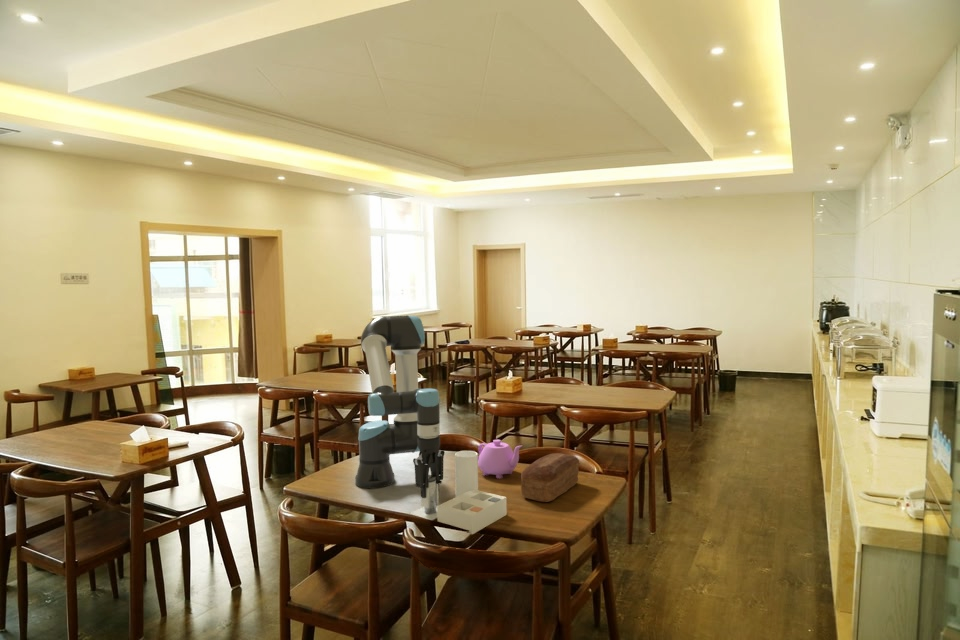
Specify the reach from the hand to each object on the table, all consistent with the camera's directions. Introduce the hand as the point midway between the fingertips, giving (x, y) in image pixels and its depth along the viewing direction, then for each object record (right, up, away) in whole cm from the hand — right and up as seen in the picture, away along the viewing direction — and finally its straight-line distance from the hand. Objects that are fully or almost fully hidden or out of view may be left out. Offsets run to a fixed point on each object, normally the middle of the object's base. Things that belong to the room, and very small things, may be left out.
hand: (430, 504), depth 204 cm
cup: (+12, -3, +16) cm, 20 cm away
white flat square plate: (0, -4, 0) cm, 4 cm away
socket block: (+14, -4, -4) cm, 15 cm away
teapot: (+25, -1, +42) cm, 48 cm away
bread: (+43, -2, +22) cm, 48 cm away
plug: (0, -3, 0) cm, 3 cm away
